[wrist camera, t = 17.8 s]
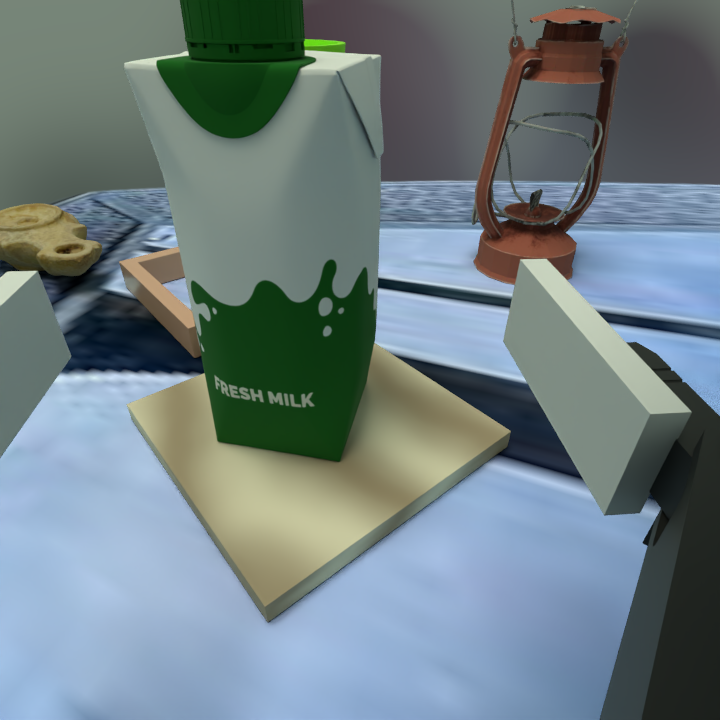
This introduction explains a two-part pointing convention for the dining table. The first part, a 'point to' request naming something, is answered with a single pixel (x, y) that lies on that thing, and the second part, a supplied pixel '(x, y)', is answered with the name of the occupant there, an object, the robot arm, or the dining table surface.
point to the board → (317, 477)
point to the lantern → (553, 65)
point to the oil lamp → (45, 240)
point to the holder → (162, 293)
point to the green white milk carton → (272, 216)
